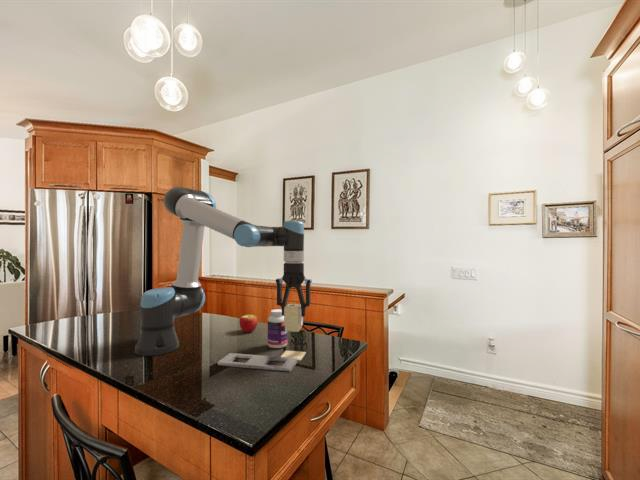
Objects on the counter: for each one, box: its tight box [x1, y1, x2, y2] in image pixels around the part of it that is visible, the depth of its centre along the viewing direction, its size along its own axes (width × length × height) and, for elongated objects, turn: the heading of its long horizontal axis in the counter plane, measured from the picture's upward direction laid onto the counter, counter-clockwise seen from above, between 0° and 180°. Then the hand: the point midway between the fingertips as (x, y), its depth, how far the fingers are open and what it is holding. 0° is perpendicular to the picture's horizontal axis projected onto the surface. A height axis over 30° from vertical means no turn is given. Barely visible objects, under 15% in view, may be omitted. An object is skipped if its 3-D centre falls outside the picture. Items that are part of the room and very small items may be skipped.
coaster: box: [280, 350, 307, 362], centre depth 114 cm, size 8×8×1 cm
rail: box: [217, 352, 299, 373], centre depth 107 cm, size 26×9×1 cm, turn 79°
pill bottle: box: [267, 308, 288, 349], centre depth 125 cm, size 8×8×14 cm
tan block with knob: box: [285, 303, 303, 333], centre depth 114 cm, size 5×5×9 cm
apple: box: [238, 310, 259, 333], centre depth 145 cm, size 8×8×10 cm
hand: (293, 324), depth 114 cm, fingers closed on tan block with knob, 5 cm apart
